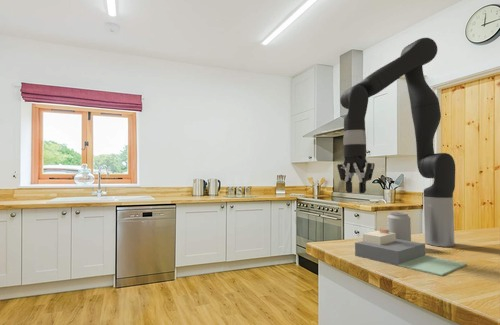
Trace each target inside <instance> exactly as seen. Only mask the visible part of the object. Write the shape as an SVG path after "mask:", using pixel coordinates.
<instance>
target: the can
mask: <svg viewBox="0 0 500 325" xmlns="http://www.w3.org/2000/svg"><path fill="white" fill-rule="evenodd" d="M411 223H412V222H411V217H410V216H409V213H408V212H403V211H402V212H399V211H393V212H391V211H390V212H388V215H387V216H386V224H387V225H386V227H387V228H386V229H389V232H390V233H396V239H400V240H406V241H412V232H411V231H412V230H411V229H412V228H411V227H412V226H411Z"/></svg>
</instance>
